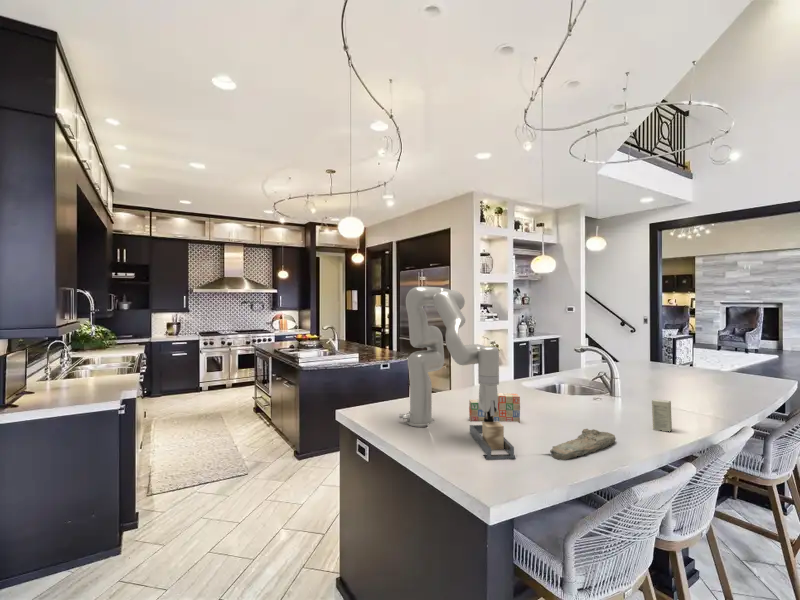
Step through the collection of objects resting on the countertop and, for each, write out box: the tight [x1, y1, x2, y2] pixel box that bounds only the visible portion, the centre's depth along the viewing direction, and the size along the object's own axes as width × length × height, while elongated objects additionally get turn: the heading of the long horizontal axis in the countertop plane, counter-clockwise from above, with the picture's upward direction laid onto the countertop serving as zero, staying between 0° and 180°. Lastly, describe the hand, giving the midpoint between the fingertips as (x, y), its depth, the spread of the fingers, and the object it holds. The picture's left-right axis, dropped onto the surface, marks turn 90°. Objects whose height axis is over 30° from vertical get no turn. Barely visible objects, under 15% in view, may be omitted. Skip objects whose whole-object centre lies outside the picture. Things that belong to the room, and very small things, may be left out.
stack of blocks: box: [468, 392, 521, 424], centre depth 183 cm, size 21×6×12 cm, turn 87°
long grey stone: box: [549, 428, 617, 461], centre depth 149 cm, size 35×5×10 cm
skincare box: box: [651, 398, 673, 433], centre depth 171 cm, size 6×4×12 cm
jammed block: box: [481, 421, 505, 451], centre depth 147 cm, size 6×6×8 cm
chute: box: [469, 424, 516, 461], centre depth 151 cm, size 10×26×4 cm, turn 4°
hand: (488, 429), depth 153 cm, fingers closed
